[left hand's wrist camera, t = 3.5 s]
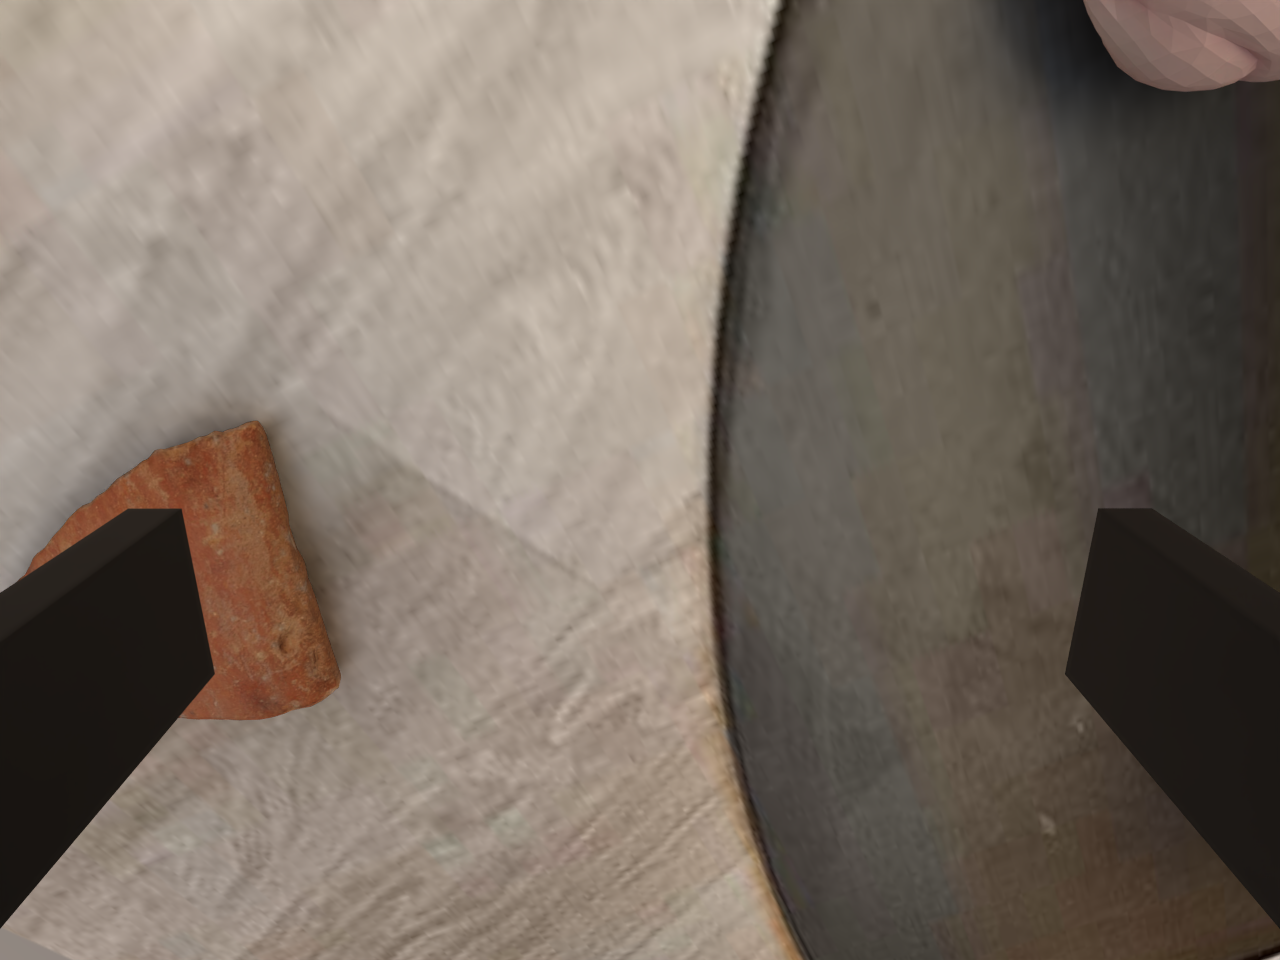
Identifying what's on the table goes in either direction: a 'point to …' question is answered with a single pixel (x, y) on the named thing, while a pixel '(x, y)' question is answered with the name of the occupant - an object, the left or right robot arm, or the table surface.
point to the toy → (1191, 40)
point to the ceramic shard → (231, 570)
